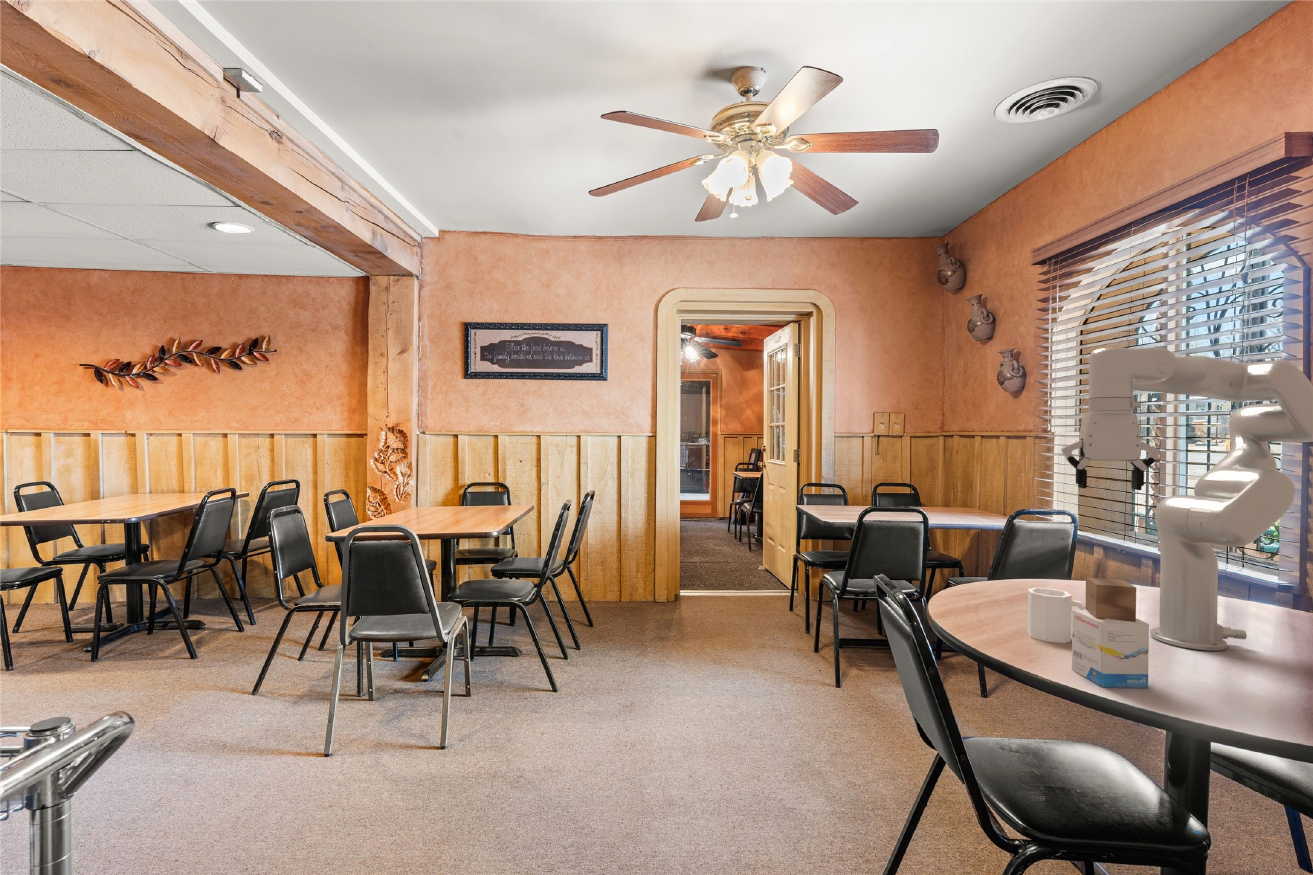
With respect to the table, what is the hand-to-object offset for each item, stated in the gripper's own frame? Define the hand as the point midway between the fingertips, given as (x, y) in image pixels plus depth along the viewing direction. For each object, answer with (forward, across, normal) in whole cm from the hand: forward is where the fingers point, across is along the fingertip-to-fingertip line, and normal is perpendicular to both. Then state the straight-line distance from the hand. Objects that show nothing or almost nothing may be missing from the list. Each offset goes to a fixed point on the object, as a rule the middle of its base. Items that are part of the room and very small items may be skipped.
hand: (1109, 488), depth 131 cm
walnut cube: (+22, +6, +20) cm, 30 cm away
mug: (+34, +8, -3) cm, 35 cm away
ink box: (+34, +6, +20) cm, 40 cm away
